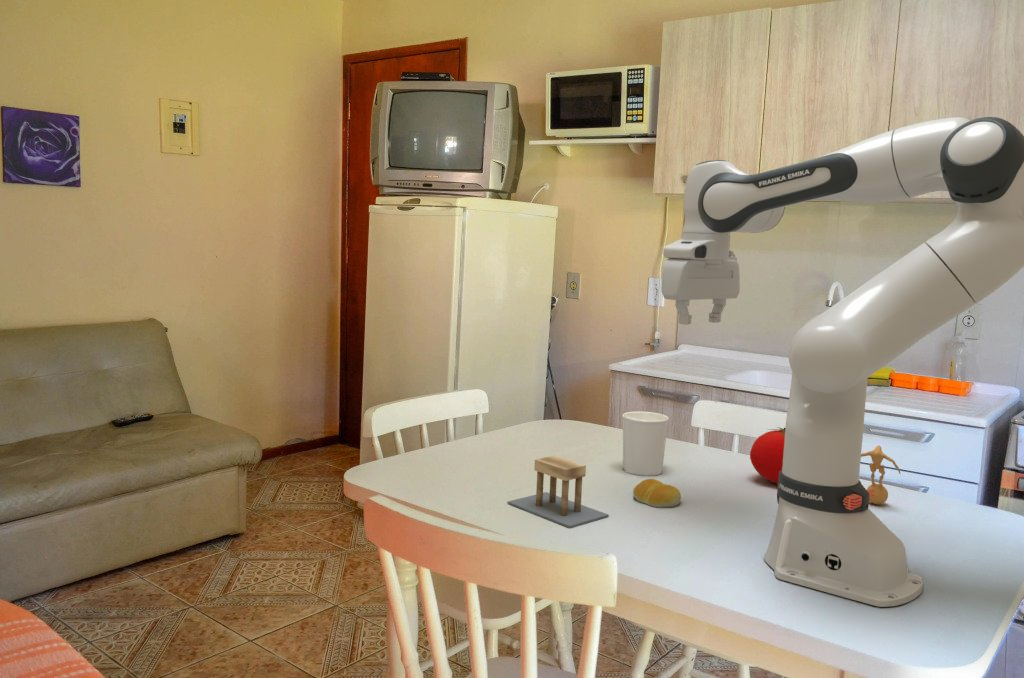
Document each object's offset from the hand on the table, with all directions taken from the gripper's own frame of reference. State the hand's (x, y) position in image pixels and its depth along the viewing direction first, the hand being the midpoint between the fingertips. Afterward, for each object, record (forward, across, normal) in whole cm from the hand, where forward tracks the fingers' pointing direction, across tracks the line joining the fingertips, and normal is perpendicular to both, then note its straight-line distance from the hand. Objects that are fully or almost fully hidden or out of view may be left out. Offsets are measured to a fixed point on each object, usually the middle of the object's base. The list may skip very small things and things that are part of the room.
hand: (699, 323), depth 155 cm
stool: (+34, +26, -10) cm, 44 cm away
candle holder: (+34, -8, -18) cm, 40 cm away
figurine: (+34, -27, +24) cm, 50 cm away
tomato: (+34, -26, +5) cm, 43 cm away
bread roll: (+35, +6, -3) cm, 35 cm away
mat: (+34, +26, -10) cm, 44 cm away
